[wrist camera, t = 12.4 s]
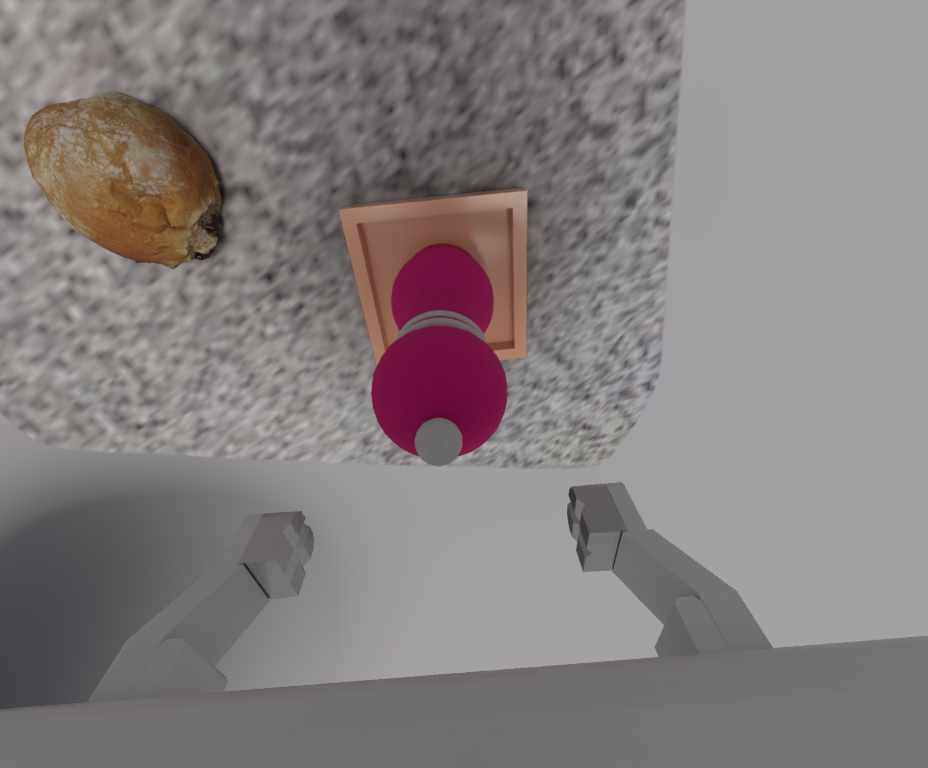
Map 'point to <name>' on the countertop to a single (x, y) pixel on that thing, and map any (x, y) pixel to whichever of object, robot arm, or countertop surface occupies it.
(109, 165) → the bread roll
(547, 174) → the countertop surface
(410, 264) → the pepper mill
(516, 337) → the terracotta tray
